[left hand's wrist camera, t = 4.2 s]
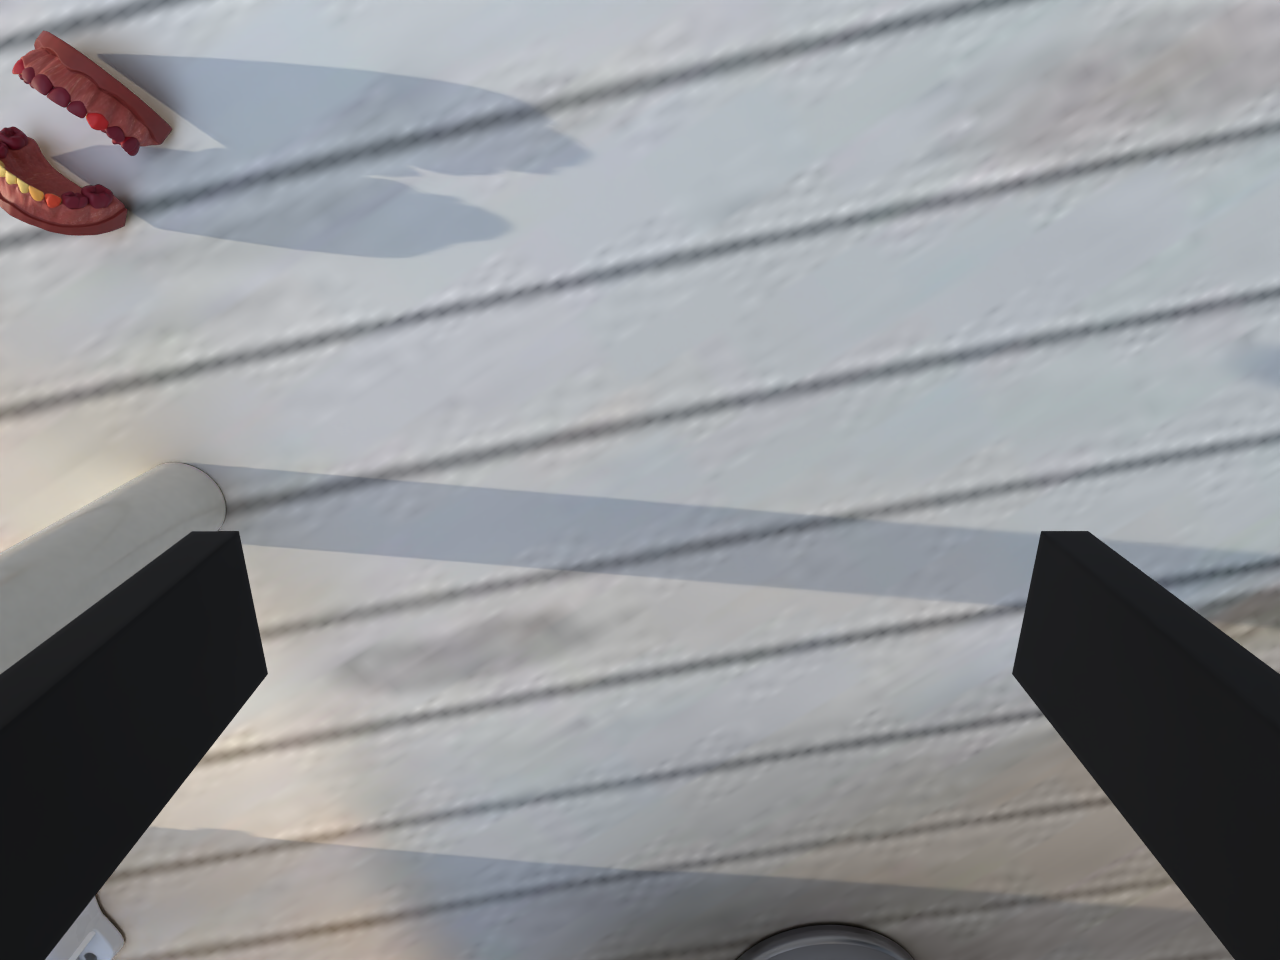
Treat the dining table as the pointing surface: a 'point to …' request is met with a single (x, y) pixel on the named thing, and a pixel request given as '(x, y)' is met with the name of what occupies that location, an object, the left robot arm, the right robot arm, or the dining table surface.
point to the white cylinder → (98, 551)
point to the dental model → (31, 186)
